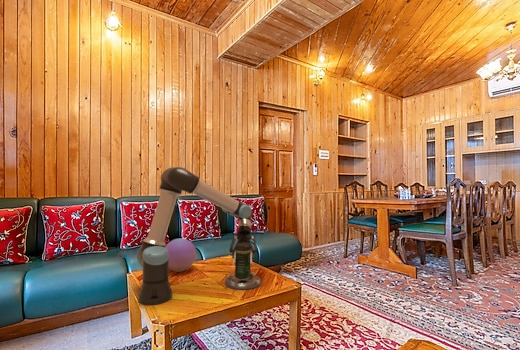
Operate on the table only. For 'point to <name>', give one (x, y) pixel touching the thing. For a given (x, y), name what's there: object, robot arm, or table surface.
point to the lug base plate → (242, 282)
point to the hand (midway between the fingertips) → (242, 263)
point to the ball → (181, 254)
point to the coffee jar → (243, 260)
